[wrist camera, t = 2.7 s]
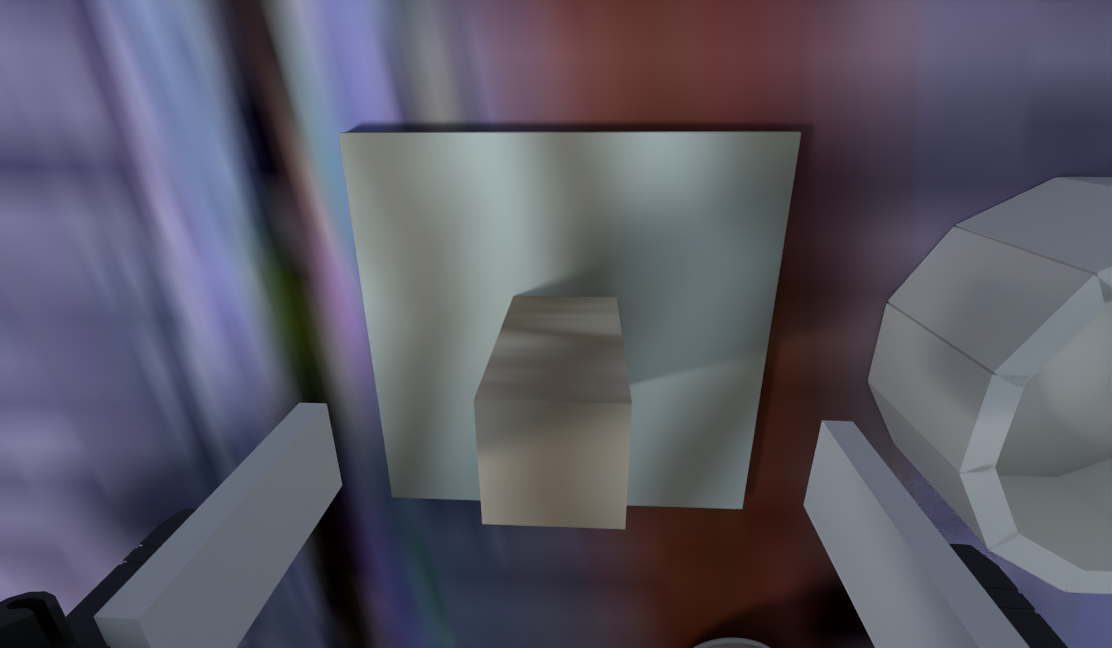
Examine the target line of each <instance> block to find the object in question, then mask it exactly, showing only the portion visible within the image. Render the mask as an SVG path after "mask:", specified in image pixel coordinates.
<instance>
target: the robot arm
mask: <svg viewBox="0 0 1112 648" xmlns="http://www.w3.org/2000/svg"><path fill="white" fill-rule="evenodd" d="M341 486H342V481H341V476H340V470H339V465H338V460H337V455H336V450H335V445H334V439H333V434H332V429H331V424H330V419H329V414H328V408H327V404H323V403H299V404H298V405H297V406H296V407H295V408H294V409H293V410H292V411H291V412H290V413H289V414H288V415H287V416H286V417H285V418H284V419H283V420H282V421H281V422H280V423H279V424H278V425H277V427H276V428H275V429H274V430H273V431H272V432H271V433H270V434H269V435H268V436H267V437H266V438H265V439H264V440H263V441H262V442H261V443H260V444H259V445H258V446H257V447H256V448H255V449H254V450H253V451H252V452H251V454H250V455H249V456H248V457H247V458H246V459H245V460H244V461H243V462H242V463H241V464H240V465H239V466H238V467H237V468H236V469H235V470H234V471H233V472H232V473H231V474H230V475H229V476H228V477H227V478H226V479H225V481H224V482H223V483H222V484H221V485H220V486H219V487H218V488H217V489H216V490H215V491H214V492H213V493H212V494H211V495H210V496H209V497H208V498H207V499H206V500H205V501H204V502H203V503H202V504H201V505H200V506H199V508H198V509H197V510H195V509H184V510H182V511H181V512H179V513H177V514H176V515H174V516H173V517H171V518H170V519H168V520H166V521H165V522H163V523H162V524H160V525H159V526H158V527H157V528H155V529H154V530H153V531H152V532H151V533H150V534H149V535H148V536H147V537H146V538H145V539H144V540H143V541H142V542H141V543H140V544H139V548H138V549H134V550H133V551H132V552H131V553H130V554H129V555H128V556H127V557H126V558H125V559H124V560H123V563H122V565H118V566H117V567H116V568H115V569H114V570H113V571H112V572H111V573H110V574H109V575H108V576H107V577H106V578H105V579H104V580H103V581H102V582H101V583H100V584H99V585H98V586H97V587H96V588H95V589H94V590H93V591H92V592H91V593H89V594H88V595H87V596H86V597H85V598H84V599H83V600H82V601H81V602H80V603H79V604H78V605H77V606H76V607H75V608H74V609H73V610H72V611H71V612H70V613H69V614H68V615H67V616H66V617H65V615H64V613H63V611H62V609H61V607H60V605H59V603H58V601H57V599H56V597H55V596H54V595H52V594H50V593H48V592H45V591H43V592H28V593H24V594H20V595H17V596H13V597H10V598H7V599H5V600H3V601H1V602H0V648H237V646H238V645H239V643H240V642H241V640H242V639H243V637H244V636H245V634H246V633H247V631H248V630H249V628H250V626H251V625H252V623H253V622H254V620H255V619H256V617H257V616H258V614H259V613H260V611H261V610H262V608H263V606H264V605H265V603H266V602H267V600H268V599H269V597H270V596H271V594H272V593H273V591H274V590H275V588H276V586H277V585H278V583H279V582H280V580H281V579H282V577H283V576H284V574H285V573H286V571H287V570H288V568H289V566H290V565H291V563H292V562H293V560H294V559H295V557H296V556H297V554H298V553H299V551H300V550H301V548H302V546H303V545H304V543H305V542H306V540H307V539H308V537H309V536H310V534H311V533H312V531H313V530H314V528H315V526H316V525H317V523H318V522H319V520H320V519H321V517H322V516H323V514H324V513H325V511H326V510H327V508H328V506H329V505H330V503H331V502H332V500H333V499H334V497H335V496H336V494H337V493H338V491H339V490H340V488H341ZM803 506H804V508H805V509H806V511H807V513H808V515H809V517H810V519H811V521H812V523H813V525H814V527H815V529H816V531H817V533H818V535H819V537H820V539H821V541H822V543H823V545H824V547H825V549H826V551H827V553H828V555H829V557H830V559H831V561H832V563H833V565H834V567H835V569H836V571H837V573H838V575H839V577H840V579H841V581H842V583H843V585H844V587H845V589H846V591H847V593H848V595H849V597H850V599H851V601H852V603H853V605H854V607H855V609H856V611H857V613H858V615H859V617H860V619H861V621H862V623H863V625H864V627H865V629H866V631H867V633H868V635H869V637H870V639H871V641H872V643H873V645H874V647H875V648H1068V647H1067V646H1066V645H1065V644H1064V643H1063V641H1062V640H1061V639H1060V638H1059V637H1058V636H1057V634H1056V633H1055V632H1054V631H1053V630H1052V628H1051V627H1050V626H1049V625H1048V624H1047V623H1046V621H1045V620H1044V619H1043V618H1042V617H1041V616H1040V614H1036V613H1035V610H1034V609H1035V608H1034V607H1033V606H1032V605H1031V604H1030V603H1029V601H1028V600H1027V599H1026V598H1025V597H1024V596H1023V594H1019V593H1018V589H1017V587H1016V586H1015V585H1014V584H1013V583H1012V581H1011V580H1010V579H1009V578H1008V577H1007V576H1006V574H1005V573H1004V572H1003V571H1002V570H1001V569H1000V567H999V566H998V565H997V564H995V563H994V562H993V561H991V560H990V559H989V558H987V557H986V556H984V555H983V554H982V553H980V552H979V551H978V550H976V549H975V548H974V547H972V546H971V545H965V544H948V543H947V541H946V540H945V539H944V537H943V536H942V535H941V534H940V532H939V531H938V530H937V528H936V527H935V526H934V525H933V523H932V522H931V521H930V520H929V518H928V517H927V516H926V514H925V513H924V512H923V511H922V509H921V508H920V507H919V505H918V504H917V503H916V502H915V500H914V499H913V498H912V497H911V495H910V494H909V493H908V491H907V490H906V489H905V488H904V486H903V485H902V484H901V482H900V481H899V480H898V479H897V477H896V476H895V475H894V474H893V472H892V471H891V470H890V468H889V467H888V466H887V465H886V463H885V462H884V461H883V460H882V458H881V457H880V456H879V454H878V453H877V452H876V451H875V449H874V448H873V447H872V445H871V444H870V443H869V442H868V440H867V439H866V438H865V437H864V435H863V434H862V433H861V431H860V430H859V429H858V428H857V426H856V425H855V424H854V422H853V421H825V420H822V423H821V427H820V432H819V436H818V441H817V445H816V450H815V455H814V459H813V464H812V468H811V473H810V477H809V482H808V487H807V491H806V496H805V500H804V505H803Z"/></svg>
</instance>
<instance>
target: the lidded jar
mask: <svg viewBox="0 0 1112 648" xmlns="http://www.w3.org/2000/svg"><path fill="white" fill-rule="evenodd" d="M693 648H771V647H769V646H767V645H766V644H763V643H761V642H758V641H755V640H752V639H747V638H740V637H725V638H717V639H712V640H709V641H706V642H703V643H700V644H698V645H696V646H694V647H693Z"/></svg>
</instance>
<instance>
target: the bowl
mask: <svg viewBox="0 0 1112 648" xmlns="http://www.w3.org/2000/svg"><path fill="white" fill-rule="evenodd" d="M888 302H889V303H886V307H885V311H884V315H883V319H882V323H881V327H880V331H879V335H878V340H877V344H876V348H875V352H874V356H873V360H872V364H871V368H870V373H869V377H868V381H869V382H868V384H869V386H870V389H871V391H872V393H873V396H874V398H875V401H876V403H877V405H878V408H879V410H880V412H881V415H882V417H883V420H884V422H885V424H886V427H887V429H888V431H889V434H890V436H891V438H892V441H893V443H894V444H895V445H896V447H897V448H898V449H899V450H900V451H901V452H902V453H903V454H904V456H905V457H906V458H907V459H908V460H909V461H910V462H911V463H912V464H913V466H914V467H915V468H916V469H917V470H918V471H919V472H920V473H921V475H922V476H923V477H924V478H925V479H926V480H927V481H928V482H929V484H930V485H931V486H932V487H933V488H934V489H935V490H936V491H937V492H938V494H939V495H940V496H941V497H942V498H943V499H944V500H945V501H946V503H947V504H948V505H949V506H950V507H951V508H952V509H953V510H954V512H955V513H956V514H957V515H958V516H959V517H960V518H961V519H962V520H963V522H964V523H965V524H966V525H967V526H968V527H969V528H970V529H971V531H972V532H973V533H974V534H975V535H976V536H977V537H978V538H979V540H980V541H981V542H982V543H983V544H984V545H985V546H986V547H987V548H988V550H990V551H991V552H993V553H995V554H997V555H999V556H1000V557H1002V558H1004V559H1006V560H1008V561H1009V562H1011V563H1013V564H1015V565H1017V566H1018V567H1020V568H1022V569H1024V570H1026V571H1027V572H1029V573H1031V574H1033V575H1035V576H1036V577H1038V578H1040V579H1042V580H1044V581H1045V582H1047V583H1049V584H1051V585H1053V586H1054V587H1056V588H1058V589H1060V590H1062V591H1063V592H1064V591H1065V592H1070V593H1095V594H1112V177H1058V178H1056V177H1055V178H1053V179H1051V180H1049V181H1047V182H1045V183H1043V184H1040V185H1038V186H1036V187H1034V188H1032V189H1030V190H1028V191H1026V192H1024V193H1021V194H1019V195H1017V196H1015V197H1013V198H1011V199H1009V200H1007V201H1005V202H1002V203H1000V204H998V205H996V206H994V207H992V208H990V209H988V210H986V211H983V212H981V213H979V214H977V215H975V216H973V217H971V218H969V219H967V220H964V221H962V222H960V223H958V224H956V227H954V226H953V227H952V228H951V230H950V231H949V232H948V233H947V234H946V235H945V236H944V238H943V239H942V240H941V241H940V242H939V243H938V244H937V245H936V247H935V248H934V249H933V250H932V251H931V252H930V253H929V255H928V256H927V257H926V258H925V259H924V260H923V261H922V262H921V264H920V265H919V266H918V267H917V268H916V269H915V270H914V272H913V273H912V274H911V275H910V276H909V277H908V278H907V279H906V281H905V282H904V283H903V284H902V285H901V286H900V287H899V289H898V290H897V291H896V292H895V293H894V294H893V295H892V296H891V298H890V299H889V300H888Z"/></svg>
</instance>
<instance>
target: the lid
mask: <svg viewBox="0 0 1112 648" xmlns="http://www.w3.org/2000/svg"><path fill="white" fill-rule="evenodd" d="M800 138H801V132H796V131H604V132H342V133H339V139H340V146H341V153H342V159H343V166H344V173H345V180H346V187H347V193H348V200H349V207H350V214H351V221H352V227H353V234H354V241H355V248H356V255H357V262H358V268H359V275H360V282H361V289H362V296H363V302H364V309H365V316H366V323H367V330H368V336H369V343H370V350H371V357H372V364H373V370H374V377H375V384H376V391H377V398H378V404H379V411H380V418H381V425H382V432H383V439H384V445H385V452H386V459H387V466H388V473H389V479H390V486H391V493H392V498H422V499H452V500H481V513H482V524H492V525H520V526H548V527H576V528H604V529H625V523H626V505H632V506H662V507H692V508H722V509H742V507H743V501H744V494H745V488H746V481H747V475H748V469H749V462H750V456H751V450H752V443H753V437H754V431H755V424H756V418H757V411H758V405H759V399H760V392H761V386H762V380H763V373H764V367H765V361H766V354H767V348H768V341H769V335H770V329H771V322H772V316H773V310H774V303H775V297H776V291H777V284H778V278H779V271H780V265H781V259H782V252H783V246H784V240H785V233H786V227H787V220H788V214H789V208H790V201H791V195H792V189H793V182H794V176H795V170H796V163H797V157H798V150H799V144H800Z"/></svg>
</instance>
